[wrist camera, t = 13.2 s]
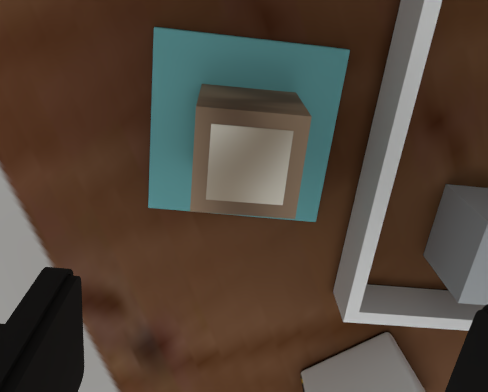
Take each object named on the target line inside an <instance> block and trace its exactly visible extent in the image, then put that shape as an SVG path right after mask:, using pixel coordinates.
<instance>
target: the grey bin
mask: <svg viewBox="0 0 488 392" xmlns="http://www.w3.org/2000/svg"><path fill="white" fill-rule="evenodd" d="M441 3H442V0H401V2H400V6H399V10H398V15H397V19H396V23H395V28H394V32H393V36H392V40H391V45H390V49H389V53H388V58H387V62H386V66H385V71H384V75H383V79H382V83H381V88H380V92H379V96H378V101H377V105H376V109H375V114H374V118H373V122H372V126H371V131H370V135H369V139H368V144H367V148H366V152H365V156H364V161H363V165H362V169H361V174H360V178H359V182H358V187H357V191H356V195H355V199H354V204H353V208H352V212H351V217H350V221H349V225H348V230H347V234H346V238H345V242H344V247H343V251H342V255H341V260H340V264H339V268H338V272H337V277H336V281H335V285H334V290H333V294H334V296H335V299H336V302H337V305H338V308H339V311H340V314H341V317H342V320H343V322H351V323H366V324H380V325H394V326H409V327H423V328H437V329H452V330H466V331H469V329H470V326H471V324H472V321H473V319H474V316H475V314H476V312H477V311H478V310H482V308H483V307H484V306H485V305H476V304H463V303H458V302H457V301H456V300H455V298H454V297H453V295H452V294H451V293H450V291H447V290H434V289H421V288H408V287H395V286H382V285H369V284H367V281H368V277H369V273H370V269H371V266H372V262H373V258H374V254H375V251H376V247H377V243H378V239H379V236H380V232H381V228H382V224H383V221H384V217H385V213H386V209H387V206H388V202H389V198H390V194H391V191H392V187H393V183H394V179H395V176H396V172H397V168H398V164H399V161H400V157H401V153H402V149H403V146H404V142H405V138H406V134H407V131H408V127H409V123H410V119H411V116H412V112H413V108H414V104H415V101H416V97H417V93H418V89H419V86H420V82H421V78H422V74H423V71H424V67H425V63H426V59H427V56H428V52H429V48H430V44H431V41H432V37H433V33H434V29H435V26H436V22H437V18H438V14H439V11H440V7H441Z"/></svg>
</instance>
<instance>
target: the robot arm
mask: <svg viewBox="0 0 488 392" xmlns="http://www.w3.org/2000/svg"><path fill="white" fill-rule="evenodd" d="M83 373H84V346H83V319H82V291H81V278H80V277H79V276H73V271H72V270H71V269H64V268H52V267H45V268H44V269H43V270H42V271H41V273H40V274H39V276H38V277H37V278H36V280H35V282H34V283H33V284H32V286H31V287H30V289H29V290H28V292H27V293H26V294H25V296H24V297H23V299H22V300H21V302H20V303H19V305H18V306H17V308H16V309H15V311H14V312H13V313H12V315H11V316H10V318H9V319H8V321H7V322H6V324H0V392H78V389H79V387H80V384H81V381H82V378H83ZM445 392H488V304H487V305H485V306H484V307H483V308H482V310H478V311H477V312H476V314H475V316H474V319H473V321H472V324H471V326H470V329H469V331H468V334H467V336H466V339H465V342H464V344H463V347H462V349H461V352H460V354H459V357H458V359H457V362H456V365H455V367H454V370H453V372H452V375H451V377H450V380H449V383H448V385H447V388H446V390H445Z"/></svg>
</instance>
